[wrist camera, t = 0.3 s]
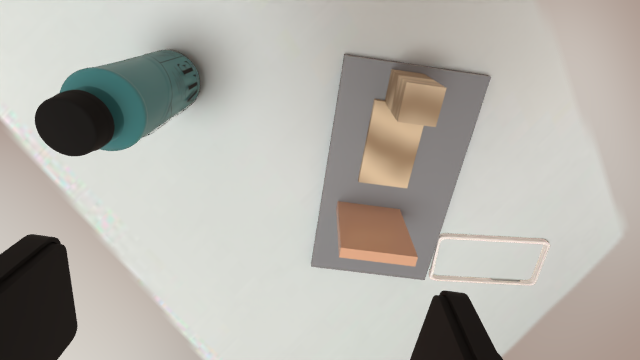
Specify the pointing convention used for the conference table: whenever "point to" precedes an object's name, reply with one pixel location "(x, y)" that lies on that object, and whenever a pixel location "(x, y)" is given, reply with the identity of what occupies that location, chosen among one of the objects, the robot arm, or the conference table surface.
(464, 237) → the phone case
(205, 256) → the conference table surface
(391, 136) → the stepped wooden block
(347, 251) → the tile
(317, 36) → the conference table surface
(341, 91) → the slate board
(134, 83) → the beverage bottle
